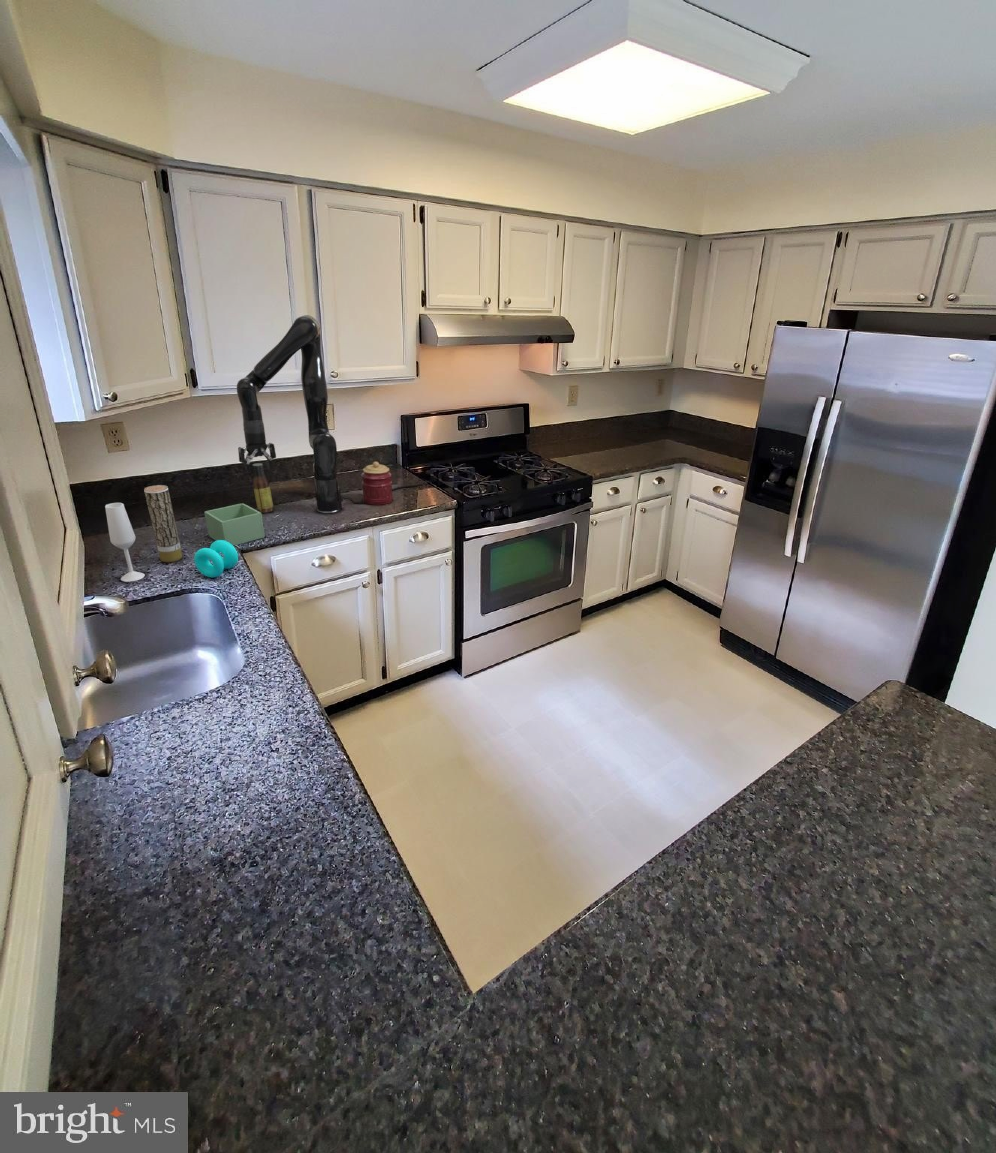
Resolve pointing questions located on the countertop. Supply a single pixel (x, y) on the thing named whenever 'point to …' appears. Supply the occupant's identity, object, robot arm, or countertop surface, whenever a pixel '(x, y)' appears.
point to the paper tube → (163, 523)
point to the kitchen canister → (377, 484)
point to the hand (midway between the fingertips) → (259, 471)
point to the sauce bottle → (262, 489)
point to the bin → (235, 524)
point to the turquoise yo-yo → (216, 558)
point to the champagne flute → (122, 536)
